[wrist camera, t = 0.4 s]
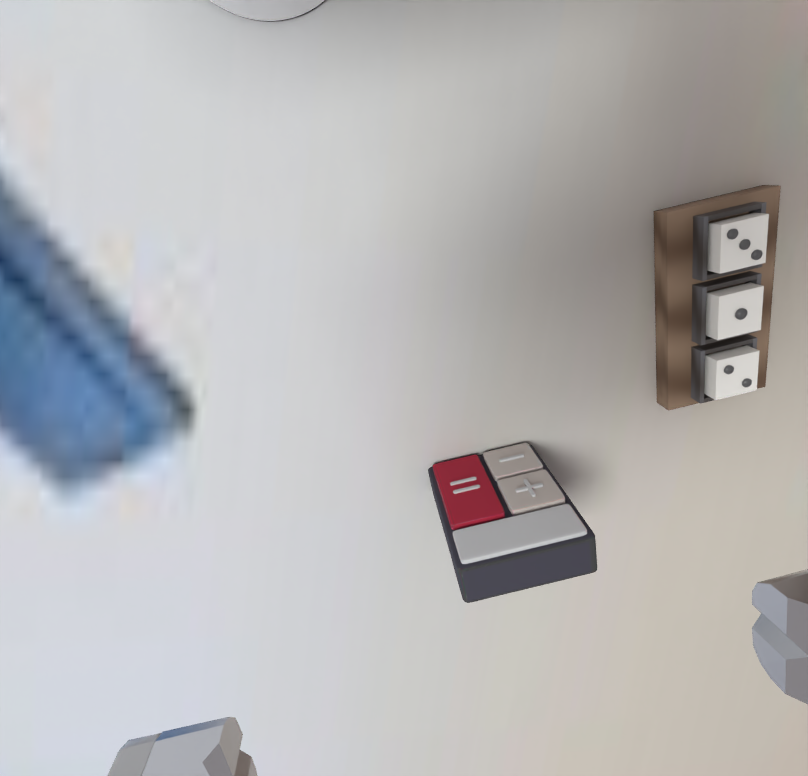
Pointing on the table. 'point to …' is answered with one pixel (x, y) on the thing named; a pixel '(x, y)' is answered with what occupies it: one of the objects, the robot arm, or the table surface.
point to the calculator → (509, 523)
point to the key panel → (703, 290)
